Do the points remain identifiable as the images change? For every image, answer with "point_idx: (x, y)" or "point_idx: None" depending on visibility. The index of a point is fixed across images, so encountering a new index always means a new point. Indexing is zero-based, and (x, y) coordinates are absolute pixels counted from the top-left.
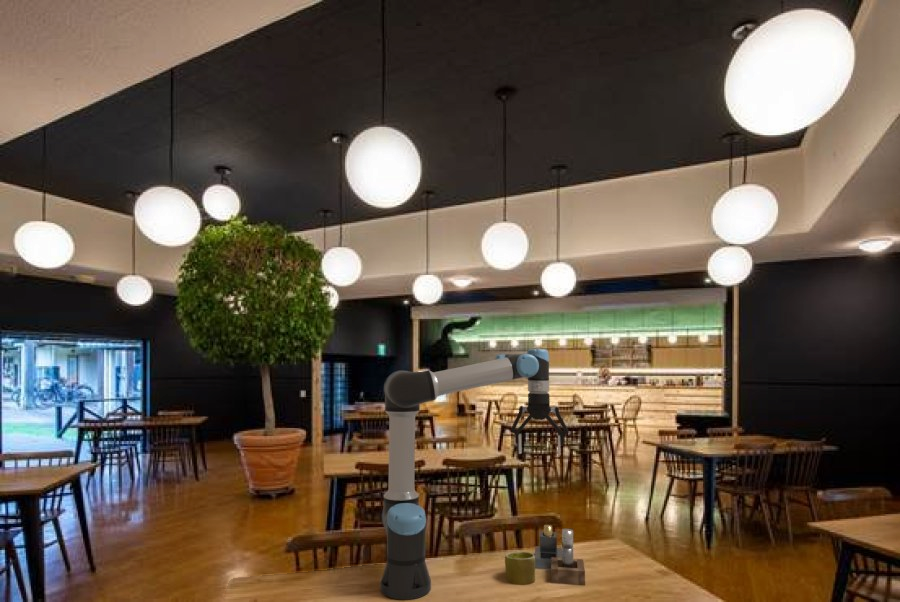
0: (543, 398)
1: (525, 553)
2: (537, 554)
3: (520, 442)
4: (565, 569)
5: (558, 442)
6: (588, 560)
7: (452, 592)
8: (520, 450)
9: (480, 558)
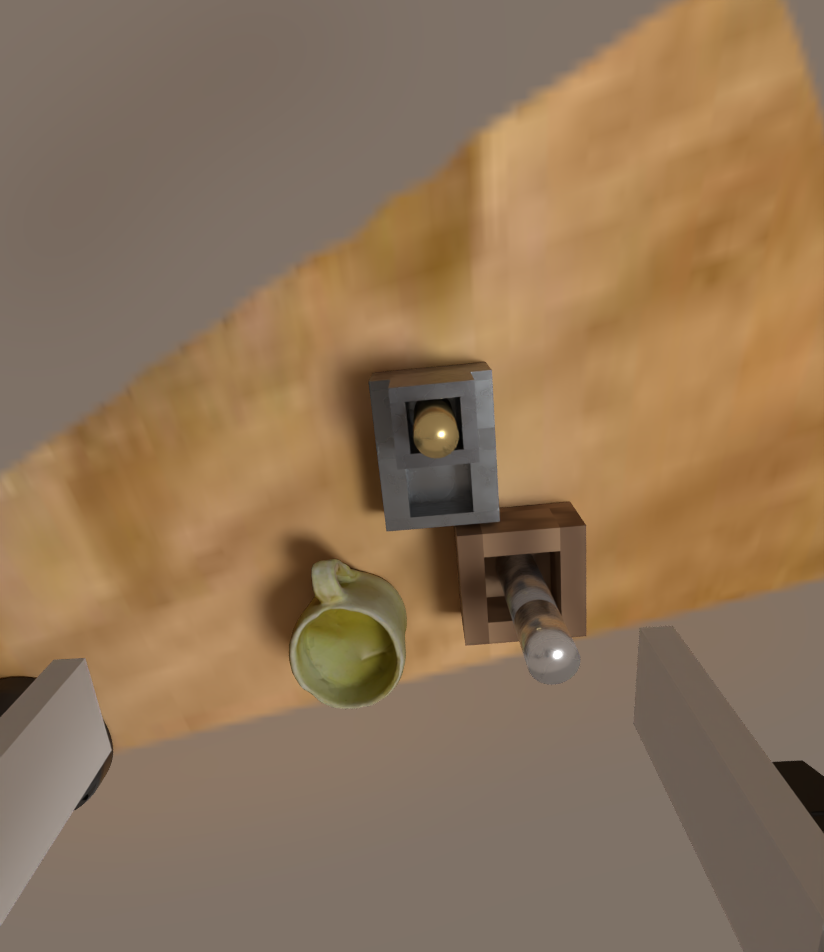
0: None
1: (359, 610)
2: (392, 482)
3: (5, 906)
4: (516, 638)
5: (729, 900)
6: (599, 331)
7: (176, 724)
8: (81, 786)
9: (152, 440)
